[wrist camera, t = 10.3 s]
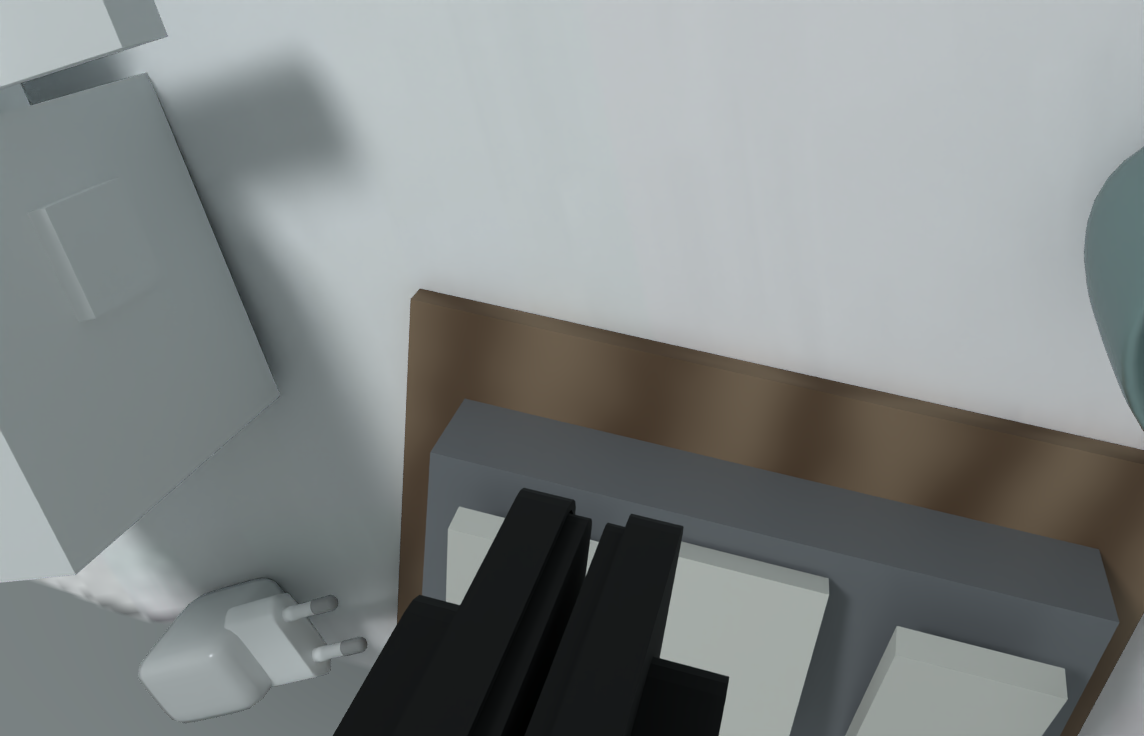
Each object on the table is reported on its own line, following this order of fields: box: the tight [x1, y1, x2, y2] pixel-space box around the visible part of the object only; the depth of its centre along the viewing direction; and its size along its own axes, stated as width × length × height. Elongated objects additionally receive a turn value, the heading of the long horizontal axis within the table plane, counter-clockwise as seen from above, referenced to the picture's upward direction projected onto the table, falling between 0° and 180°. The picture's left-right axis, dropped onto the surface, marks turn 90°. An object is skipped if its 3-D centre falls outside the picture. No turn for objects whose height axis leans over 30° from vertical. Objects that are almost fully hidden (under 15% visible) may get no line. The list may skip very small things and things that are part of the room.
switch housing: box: [422, 399, 1120, 736], centre depth 42 cm, size 25×10×5 cm, turn 83°
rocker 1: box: [446, 507, 599, 605], centre depth 41 cm, size 6×8×1 cm
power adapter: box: [138, 578, 367, 723], centre depth 51 cm, size 11×5×6 cm, turn 117°
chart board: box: [397, 289, 1144, 736], centre depth 45 cm, size 30×20×1 cm, turn 83°
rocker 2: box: [660, 541, 829, 736], centre depth 40 cm, size 6×8×1 cm
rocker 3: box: [845, 626, 1068, 736], centre depth 39 cm, size 6×8×1 cm
